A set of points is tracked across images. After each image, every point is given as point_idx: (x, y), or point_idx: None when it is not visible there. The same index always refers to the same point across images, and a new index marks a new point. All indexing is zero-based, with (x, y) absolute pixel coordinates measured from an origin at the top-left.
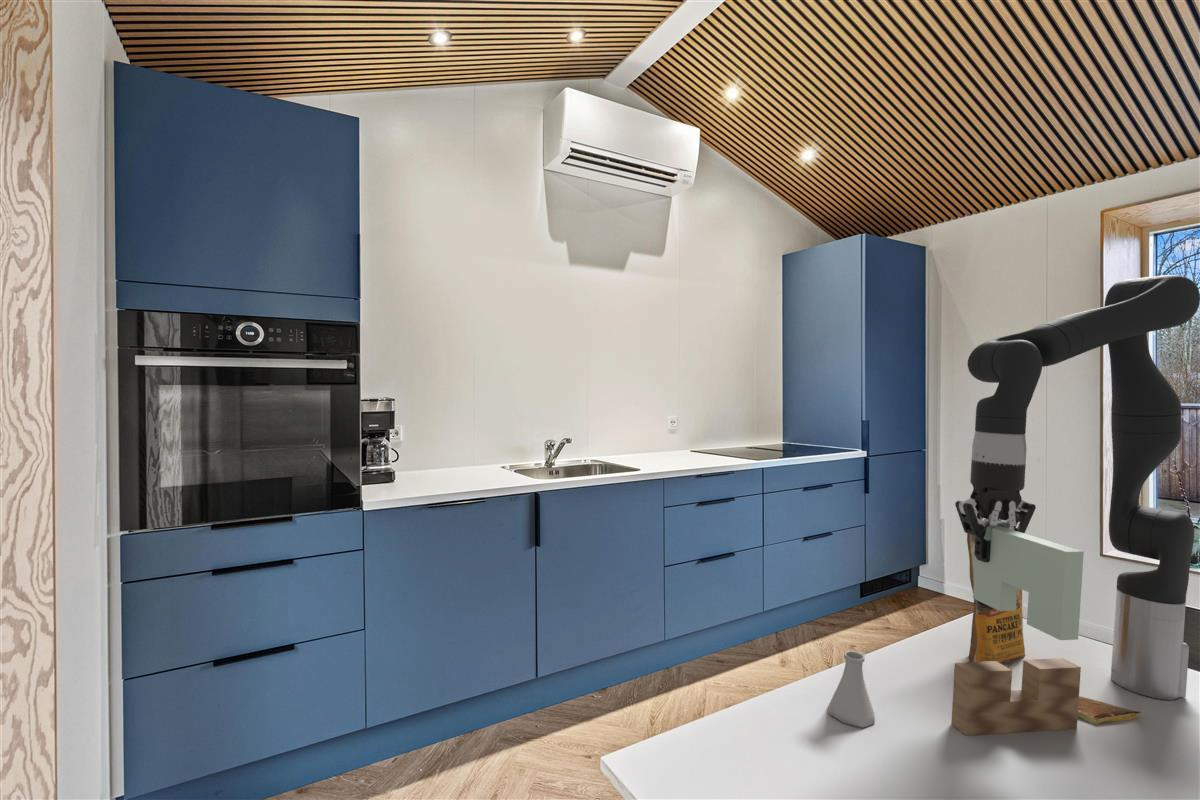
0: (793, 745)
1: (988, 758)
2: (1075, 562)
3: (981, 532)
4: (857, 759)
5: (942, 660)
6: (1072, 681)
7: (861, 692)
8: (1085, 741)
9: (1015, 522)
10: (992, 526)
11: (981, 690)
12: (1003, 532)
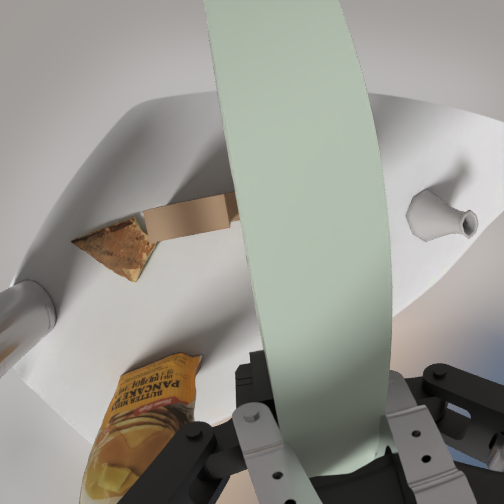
0: (478, 166)
1: None
2: None
3: (428, 381)
4: (444, 143)
5: (241, 361)
6: (162, 206)
7: (443, 204)
8: (177, 177)
9: (251, 467)
10: (403, 410)
11: None
12: (388, 353)
